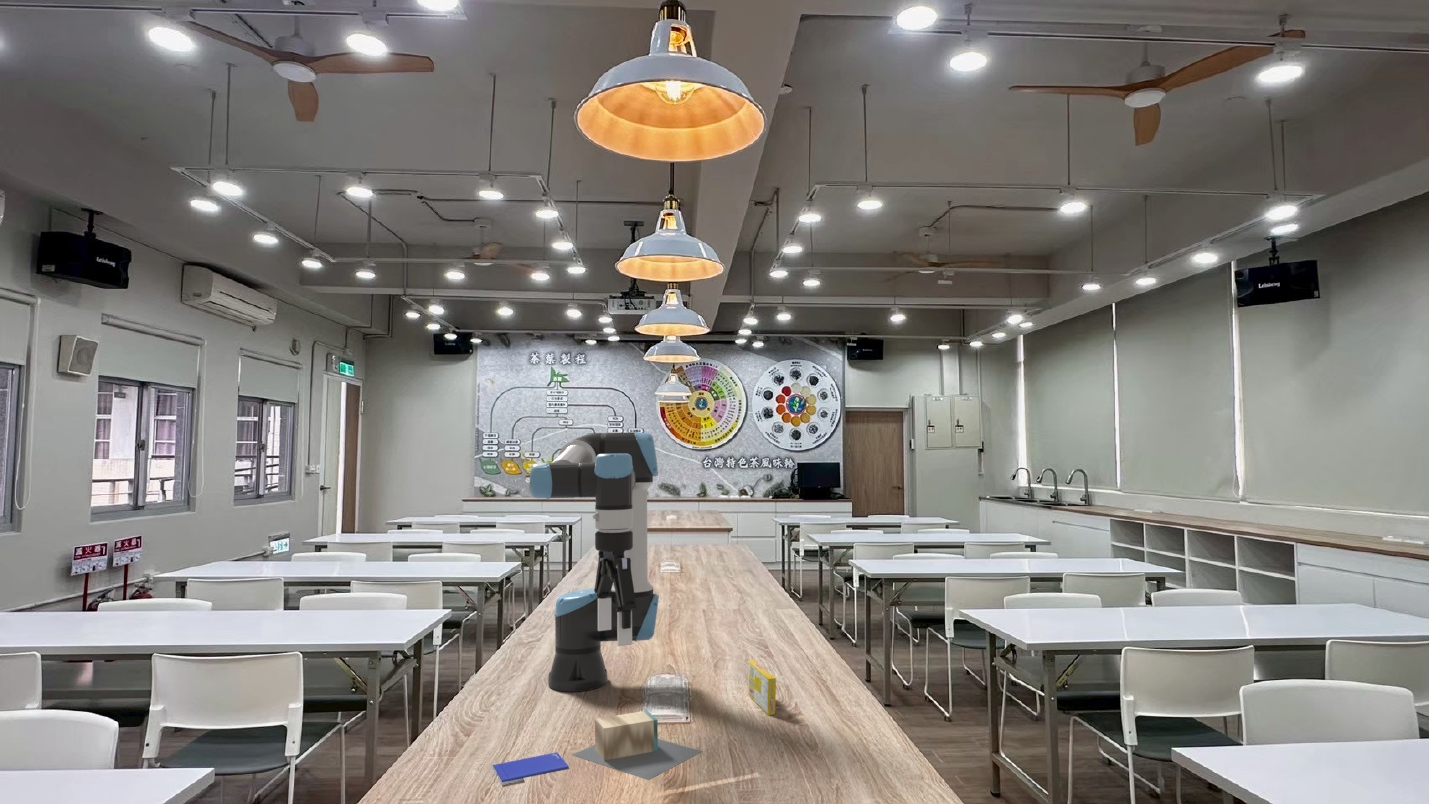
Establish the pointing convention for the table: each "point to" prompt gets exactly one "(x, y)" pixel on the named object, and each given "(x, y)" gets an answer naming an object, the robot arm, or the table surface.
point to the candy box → (762, 687)
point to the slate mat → (644, 759)
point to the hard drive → (529, 767)
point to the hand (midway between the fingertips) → (614, 637)
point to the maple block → (626, 735)
